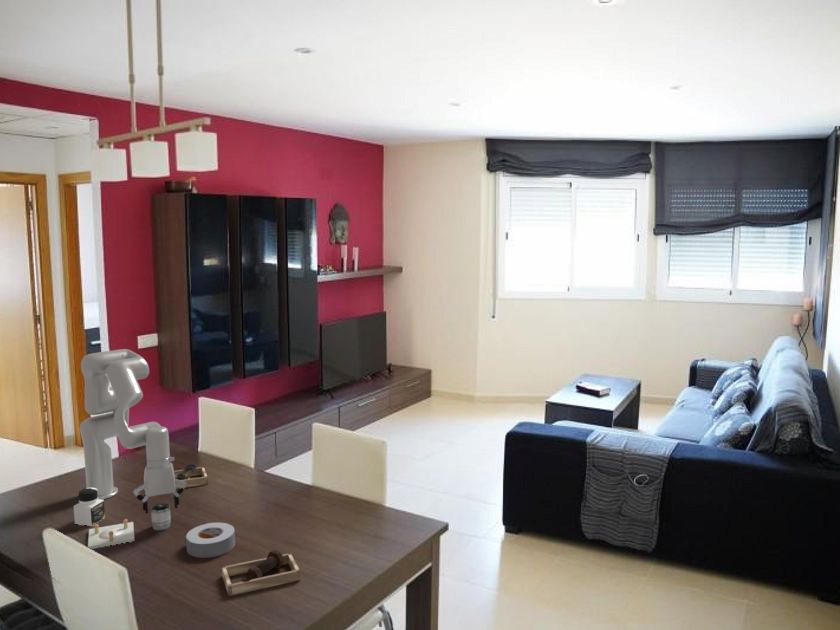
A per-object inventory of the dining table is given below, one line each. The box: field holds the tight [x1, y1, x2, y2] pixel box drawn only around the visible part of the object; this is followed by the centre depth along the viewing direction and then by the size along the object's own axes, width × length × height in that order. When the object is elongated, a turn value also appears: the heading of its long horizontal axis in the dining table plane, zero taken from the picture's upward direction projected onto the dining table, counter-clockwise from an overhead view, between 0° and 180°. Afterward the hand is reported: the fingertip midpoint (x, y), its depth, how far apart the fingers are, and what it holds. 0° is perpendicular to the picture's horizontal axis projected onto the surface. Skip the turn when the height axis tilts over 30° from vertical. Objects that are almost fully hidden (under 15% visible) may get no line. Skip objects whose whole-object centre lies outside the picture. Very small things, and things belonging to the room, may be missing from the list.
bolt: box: [240, 549, 284, 582], centre depth 198 cm, size 6×5×15 cm
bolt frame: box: [221, 552, 301, 597], centre depth 198 cm, size 12×21×3 cm, turn 115°
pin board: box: [87, 518, 135, 550], centre depth 224 cm, size 14×14×4 cm
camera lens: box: [150, 502, 172, 531], centre depth 232 cm, size 6×6×8 cm
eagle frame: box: [174, 466, 209, 490], centre depth 273 cm, size 13×16×3 cm
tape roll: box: [185, 522, 236, 559], centre depth 218 cm, size 15×15×5 cm
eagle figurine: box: [175, 463, 197, 480], centre depth 273 cm, size 8×7×9 cm
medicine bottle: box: [73, 487, 106, 527], centre depth 235 cm, size 7×7×12 cm
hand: (161, 509), depth 231 cm, fingers open, 9 cm apart
